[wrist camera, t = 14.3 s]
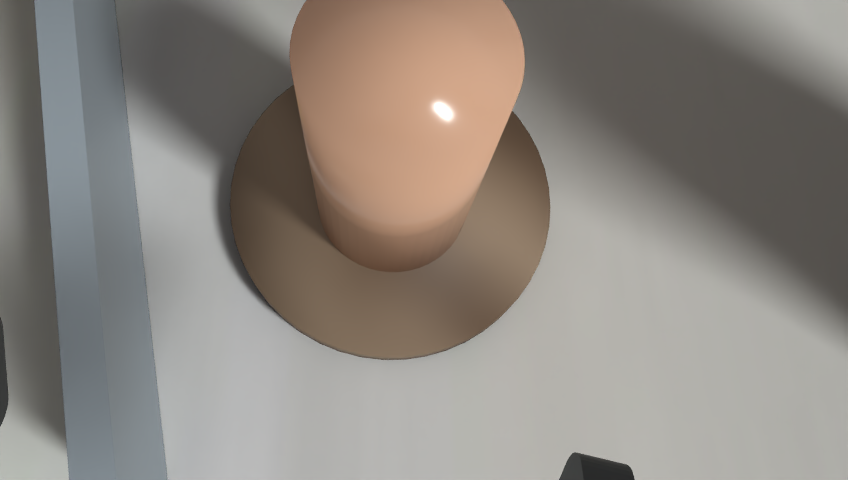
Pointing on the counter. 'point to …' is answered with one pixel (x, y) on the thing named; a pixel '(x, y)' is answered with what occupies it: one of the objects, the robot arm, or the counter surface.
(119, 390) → the low wall
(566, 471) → the robot arm
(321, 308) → the walnut coaster
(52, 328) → the counter surface
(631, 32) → the counter surface
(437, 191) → the peach rounded cylinder
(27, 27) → the counter surface
